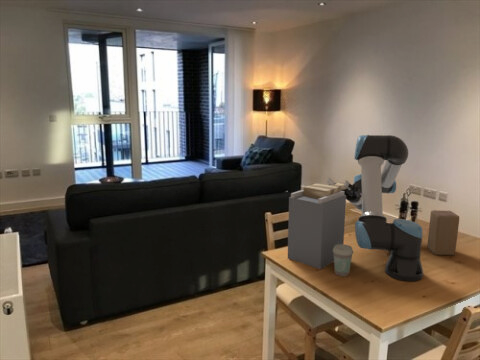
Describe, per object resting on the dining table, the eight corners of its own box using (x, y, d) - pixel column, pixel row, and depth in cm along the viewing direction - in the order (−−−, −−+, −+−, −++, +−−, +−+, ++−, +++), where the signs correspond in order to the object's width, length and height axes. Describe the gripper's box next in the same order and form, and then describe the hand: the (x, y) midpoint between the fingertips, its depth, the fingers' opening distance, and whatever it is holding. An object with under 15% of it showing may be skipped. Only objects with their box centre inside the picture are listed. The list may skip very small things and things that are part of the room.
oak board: (334, 185, 198) (334, 178, 197) (355, 189, 190) (355, 181, 189) (303, 195, 178) (303, 187, 177) (325, 199, 170) (326, 191, 169)
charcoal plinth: (311, 246, 195) (313, 185, 189) (342, 256, 183) (346, 191, 177) (287, 258, 181) (289, 192, 175) (320, 269, 169) (323, 199, 162)
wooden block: (446, 248, 193) (451, 210, 189) (455, 256, 183) (460, 216, 179) (426, 247, 194) (430, 209, 190) (434, 255, 184) (438, 215, 180)
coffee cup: (327, 270, 168) (329, 245, 165) (344, 267, 171) (345, 242, 168) (339, 279, 160) (340, 252, 157) (356, 275, 163) (357, 249, 160)
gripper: (371, 206, 195) (354, 192, 179) (334, 199, 210) (315, 185, 193) (375, 193, 196) (359, 177, 180) (338, 186, 211) (319, 171, 195)
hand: (336, 181), depth 187 cm, fingers open, 9 cm apart
